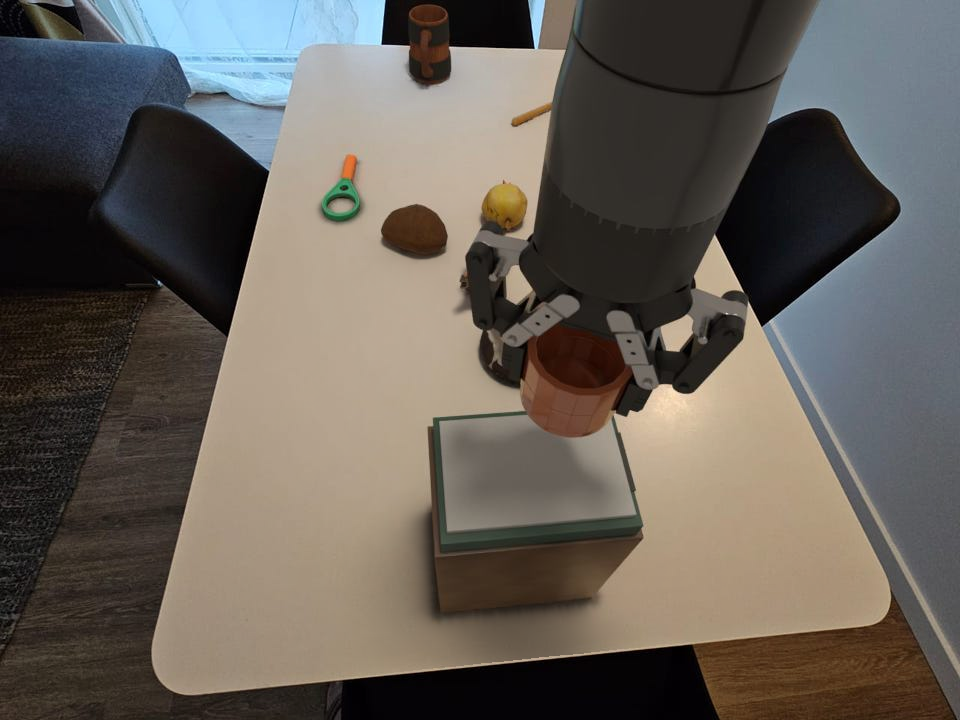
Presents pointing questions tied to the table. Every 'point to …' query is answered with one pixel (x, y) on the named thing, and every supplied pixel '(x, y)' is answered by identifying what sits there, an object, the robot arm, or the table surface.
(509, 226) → the fruit
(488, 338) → the donut
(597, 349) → the bowl
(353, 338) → the table surface
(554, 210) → the robot arm
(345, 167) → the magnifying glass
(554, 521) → the scale
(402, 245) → the potato
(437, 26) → the mug
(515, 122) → the fork
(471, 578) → the stand
